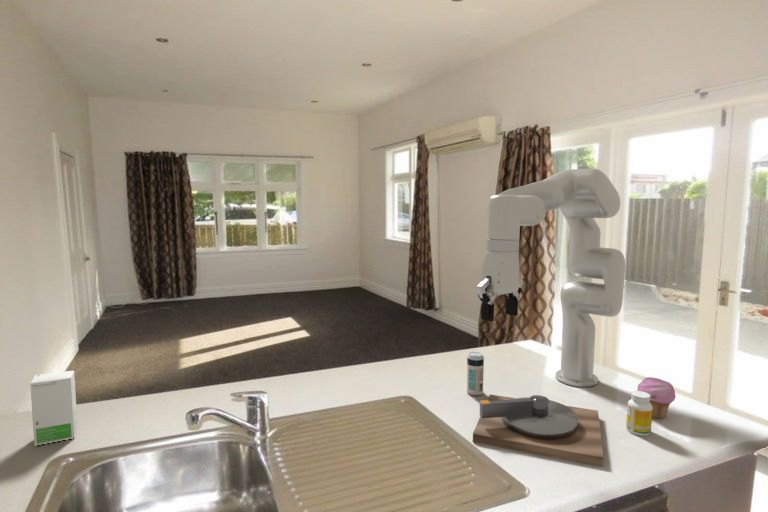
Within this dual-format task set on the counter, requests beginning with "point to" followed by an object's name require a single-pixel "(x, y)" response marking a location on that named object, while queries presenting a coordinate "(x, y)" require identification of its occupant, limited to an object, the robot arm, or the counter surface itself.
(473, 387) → the pill bottle
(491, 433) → the dial base
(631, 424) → the supplement bottle
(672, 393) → the cupcake
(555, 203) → the robot arm
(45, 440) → the skincare box
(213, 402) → the counter surface
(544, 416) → the dial
